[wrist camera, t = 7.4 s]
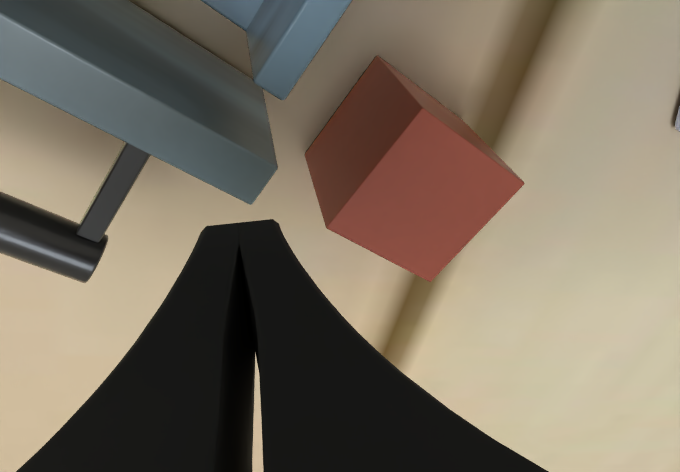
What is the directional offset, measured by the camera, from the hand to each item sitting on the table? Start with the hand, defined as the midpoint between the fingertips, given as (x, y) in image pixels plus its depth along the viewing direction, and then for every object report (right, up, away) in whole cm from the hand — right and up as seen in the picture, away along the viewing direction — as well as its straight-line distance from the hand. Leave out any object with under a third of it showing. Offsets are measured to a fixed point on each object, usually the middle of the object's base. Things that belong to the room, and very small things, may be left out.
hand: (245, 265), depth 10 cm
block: (+3, +4, +9) cm, 11 cm away
